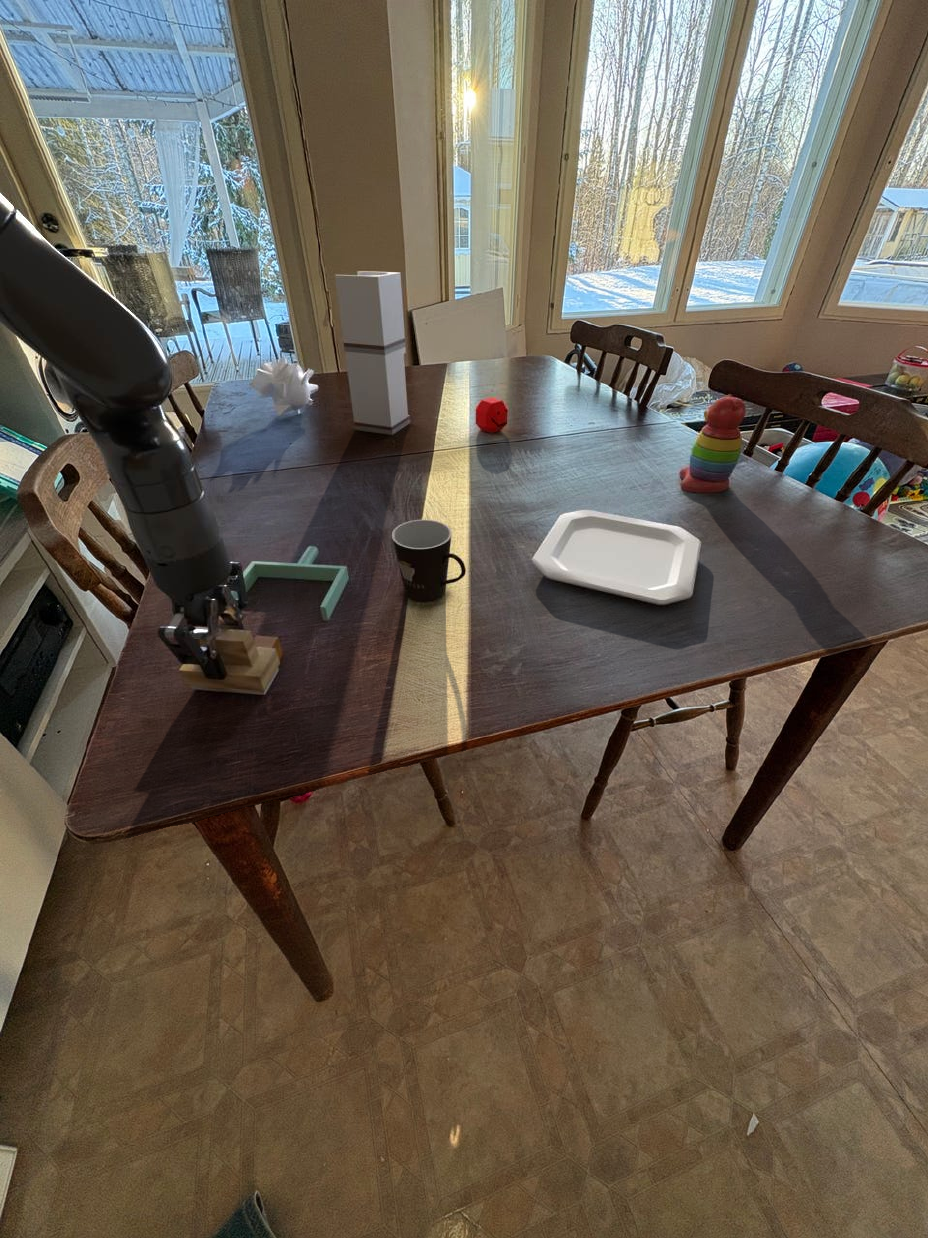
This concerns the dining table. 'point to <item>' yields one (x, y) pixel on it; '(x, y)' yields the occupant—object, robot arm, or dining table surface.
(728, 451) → the stacking bear
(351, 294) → the white banded pillar
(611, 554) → the plate
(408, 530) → the coffee mug
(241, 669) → the stepped wooden block
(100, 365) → the robot arm
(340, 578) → the green u-shaped pusher
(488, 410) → the ball
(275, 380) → the white spiky ornament
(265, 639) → the crumb
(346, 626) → the dining table surface
